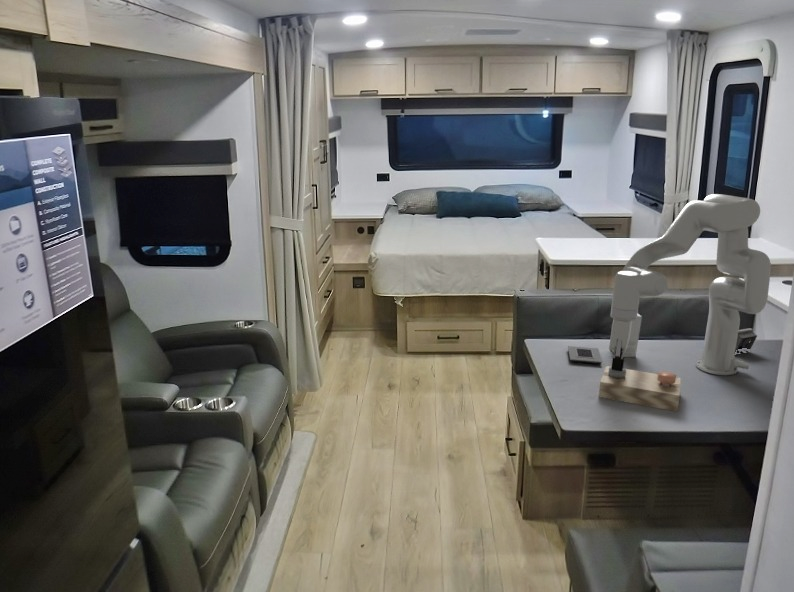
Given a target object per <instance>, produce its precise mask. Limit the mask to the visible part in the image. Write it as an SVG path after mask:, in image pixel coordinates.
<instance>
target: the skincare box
mask: <svg viewBox="0 0 794 592" xmlns="http://www.w3.org/2000/svg"><path fill="white" fill-rule="evenodd" d="M642 319H643V315H640V314H639V312H638V313H637V319H636V320H634V321H632V326H631V333H630V338H629V342H628V346H627V349H626V352H624V358H636V356H637V352H638V343H639V337H640V331H641V327H642V326H641V325H642ZM611 351H612V353H614V349H613V350H611Z"/></svg>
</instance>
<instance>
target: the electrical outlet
mask: <svg viewBox="0 0 794 592" xmlns="http://www.w3.org/2000/svg"><path fill="white" fill-rule="evenodd" d="M567 350H568V355H569V361H570V362H576V363H588V364H596V365H597V364H599V365H600V364H602V363H603V360H602V357H601V353H600V350H599V348H597V347H596V348H595V347H586V346H585V347H584V346H572V345H571V346H570V345H567Z"/></svg>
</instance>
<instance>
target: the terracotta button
mask: <svg viewBox="0 0 794 592" xmlns="http://www.w3.org/2000/svg"><path fill="white" fill-rule="evenodd" d="M657 374H658V377H657V380H658V381H660V382H662V385H663V386H669V384H673V383H675V381H676V377H677V375H676V373H672V372H671V371H659V372H657Z"/></svg>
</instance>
